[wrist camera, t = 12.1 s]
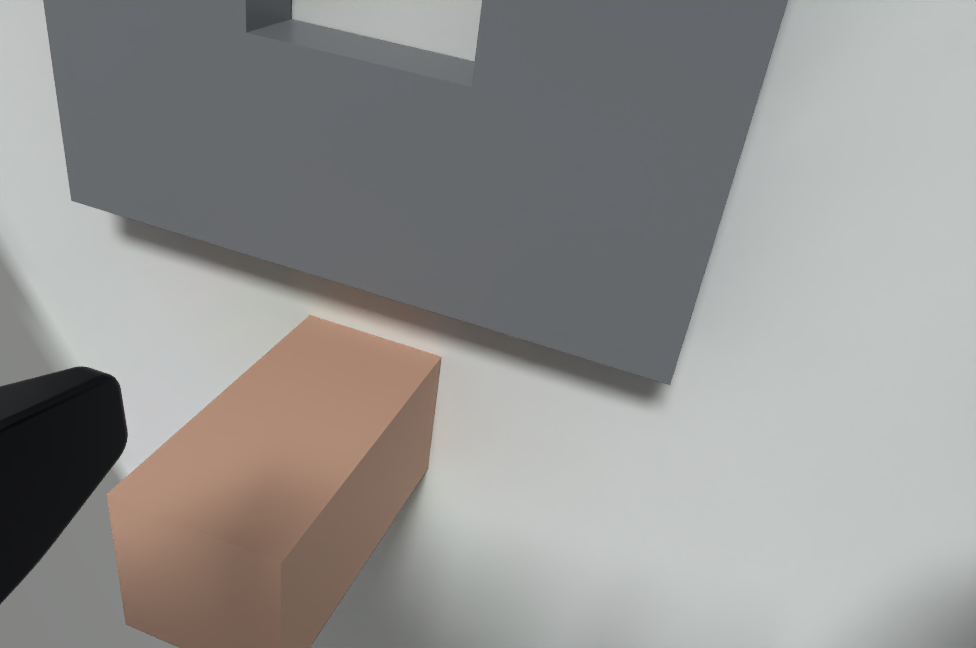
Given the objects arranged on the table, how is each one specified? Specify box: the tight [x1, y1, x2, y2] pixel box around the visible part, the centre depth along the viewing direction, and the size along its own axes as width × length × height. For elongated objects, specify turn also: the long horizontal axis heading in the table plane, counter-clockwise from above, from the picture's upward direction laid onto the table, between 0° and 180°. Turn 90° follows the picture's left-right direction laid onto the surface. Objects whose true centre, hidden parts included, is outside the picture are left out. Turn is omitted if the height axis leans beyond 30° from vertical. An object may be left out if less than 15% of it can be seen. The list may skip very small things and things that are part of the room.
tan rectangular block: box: [107, 315, 441, 648], centre depth 21 cm, size 4×4×8 cm
